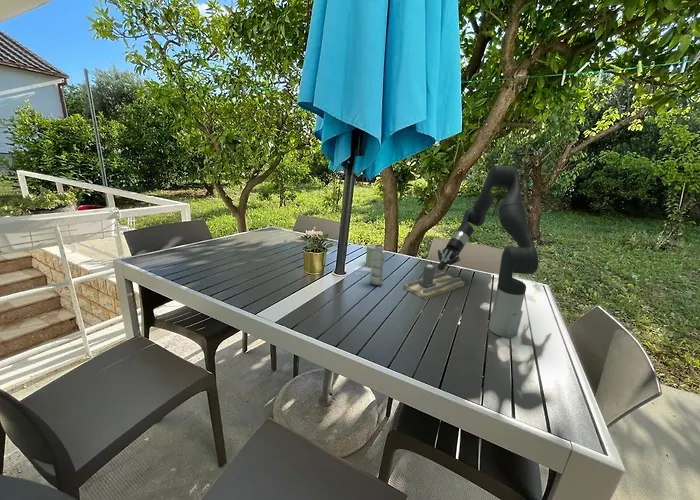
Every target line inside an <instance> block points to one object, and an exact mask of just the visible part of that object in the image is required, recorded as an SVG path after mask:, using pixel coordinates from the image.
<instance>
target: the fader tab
mask: <svg viewBox="0 0 700 500" xmlns="http://www.w3.org/2000/svg"><path fill="white" fill-rule="evenodd" d="M435 270H436V267H435V266H434V265H432V264H427V265H426V266H424V268H423V276H422V278H423V281H420V282H419V285H422V286H424V287H426V288H429V287H432V286H435V285H436V283H433V278H434V275H435Z"/></svg>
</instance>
